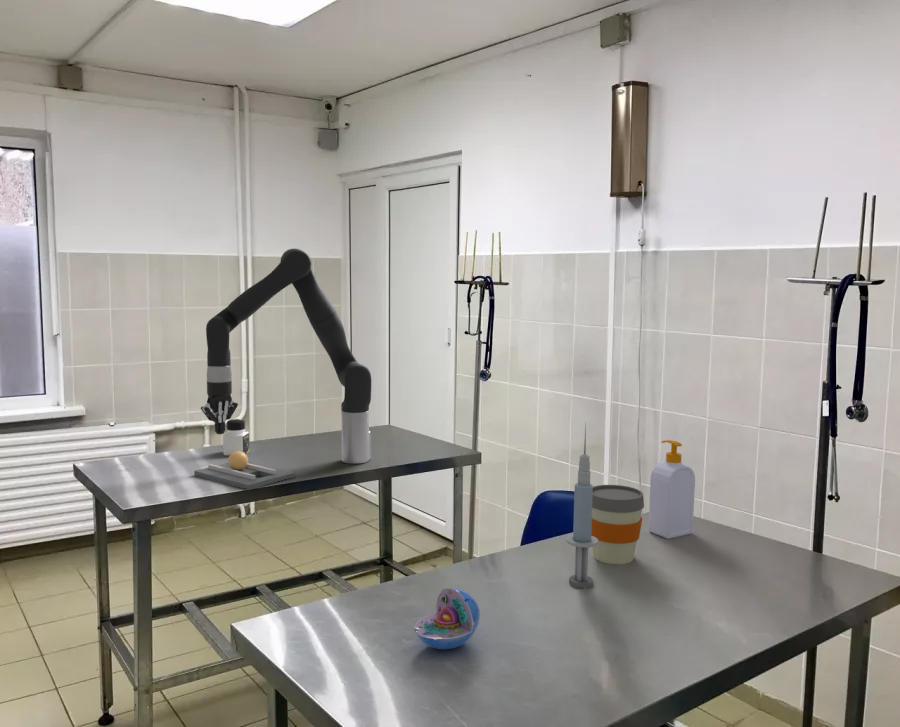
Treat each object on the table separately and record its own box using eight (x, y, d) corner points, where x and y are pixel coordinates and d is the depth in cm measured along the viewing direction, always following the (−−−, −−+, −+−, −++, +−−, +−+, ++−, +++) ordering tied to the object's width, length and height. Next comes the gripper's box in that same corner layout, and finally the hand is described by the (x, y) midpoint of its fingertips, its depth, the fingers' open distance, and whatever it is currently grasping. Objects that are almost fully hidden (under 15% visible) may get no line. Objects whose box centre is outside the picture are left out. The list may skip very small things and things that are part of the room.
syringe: (597, 589, 154) (601, 419, 150) (565, 587, 155) (568, 418, 151) (596, 578, 159) (599, 415, 156) (565, 577, 160) (568, 414, 157)
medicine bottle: (243, 455, 263) (242, 421, 262) (223, 455, 264) (222, 421, 262) (249, 451, 270) (248, 417, 269) (229, 450, 271) (228, 417, 269)
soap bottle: (671, 525, 194) (675, 437, 191) (692, 533, 188) (697, 442, 185) (645, 531, 189) (649, 440, 187) (666, 539, 183) (670, 446, 181)
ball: (240, 466, 242) (239, 448, 242) (252, 469, 239) (251, 451, 238) (224, 470, 238) (223, 451, 237) (236, 473, 234) (236, 454, 233)
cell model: (401, 645, 130) (401, 591, 129) (455, 625, 137) (455, 574, 136) (438, 668, 122) (439, 611, 121) (493, 646, 130) (493, 592, 129)
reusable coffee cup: (575, 559, 170) (577, 493, 168) (598, 543, 180) (600, 481, 179) (629, 571, 163) (632, 503, 161) (650, 554, 173) (652, 490, 172)
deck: (241, 464, 252) (241, 456, 251) (295, 477, 236) (295, 468, 236) (194, 475, 237) (194, 467, 237) (248, 490, 222) (248, 480, 222)
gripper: (208, 382, 233) (209, 438, 234) (243, 378, 243) (244, 432, 245) (193, 380, 237) (195, 435, 239) (228, 376, 248) (229, 429, 249)
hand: (220, 433), depth 242 cm, fingers closed
